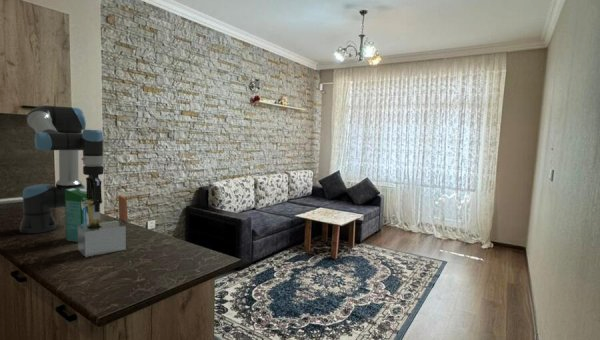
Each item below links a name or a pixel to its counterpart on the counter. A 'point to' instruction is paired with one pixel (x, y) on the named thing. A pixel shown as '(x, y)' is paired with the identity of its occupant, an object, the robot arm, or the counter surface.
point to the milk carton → (75, 211)
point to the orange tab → (122, 209)
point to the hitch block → (101, 238)
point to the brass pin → (95, 222)
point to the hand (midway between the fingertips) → (94, 217)
